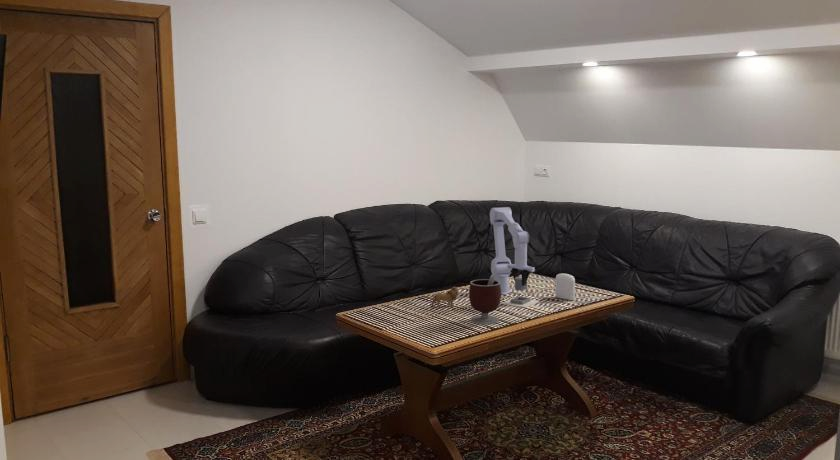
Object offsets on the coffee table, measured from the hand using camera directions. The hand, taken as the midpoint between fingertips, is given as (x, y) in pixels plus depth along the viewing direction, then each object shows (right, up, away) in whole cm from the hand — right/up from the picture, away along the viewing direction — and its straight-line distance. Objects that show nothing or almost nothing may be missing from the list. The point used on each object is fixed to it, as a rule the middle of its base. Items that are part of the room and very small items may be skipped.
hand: (520, 284), depth 310 cm
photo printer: (+23, -8, +9) cm, 26 cm away
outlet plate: (0, -9, +1) cm, 9 cm away
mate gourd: (-19, -14, -28) cm, 36 cm away
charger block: (0, -2, +1) cm, 2 cm away
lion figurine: (-37, -10, -3) cm, 38 cm away
